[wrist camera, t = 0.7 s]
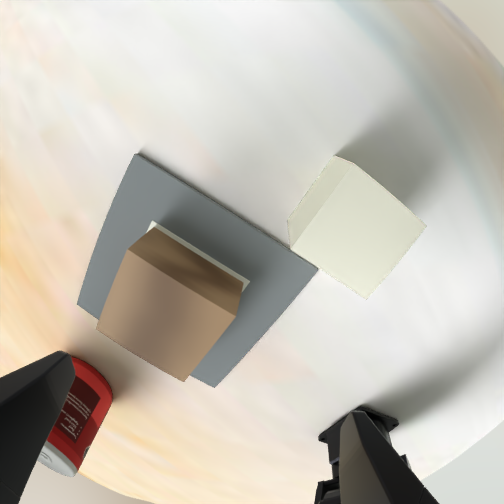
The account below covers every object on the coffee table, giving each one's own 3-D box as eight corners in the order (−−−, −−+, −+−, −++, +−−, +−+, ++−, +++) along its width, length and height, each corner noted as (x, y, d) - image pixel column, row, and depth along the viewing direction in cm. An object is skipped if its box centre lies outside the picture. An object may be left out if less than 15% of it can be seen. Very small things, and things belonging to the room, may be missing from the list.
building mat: (317, 267, 20) (318, 270, 19) (215, 384, 25) (214, 388, 24) (137, 153, 18) (133, 154, 17) (79, 301, 23) (76, 304, 22)
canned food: (73, 398, 29) (35, 461, 19) (47, 348, 26) (-6, 415, 16) (124, 410, 28) (89, 486, 18) (100, 359, 25) (47, 443, 15)
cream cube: (393, 202, 18) (426, 225, 13) (347, 261, 20) (366, 299, 15) (333, 155, 17) (353, 162, 12) (287, 219, 19) (290, 249, 14)
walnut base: (243, 282, 20) (236, 316, 16) (196, 346, 23) (183, 382, 19) (154, 226, 19) (127, 249, 15) (120, 299, 22) (95, 328, 18)
